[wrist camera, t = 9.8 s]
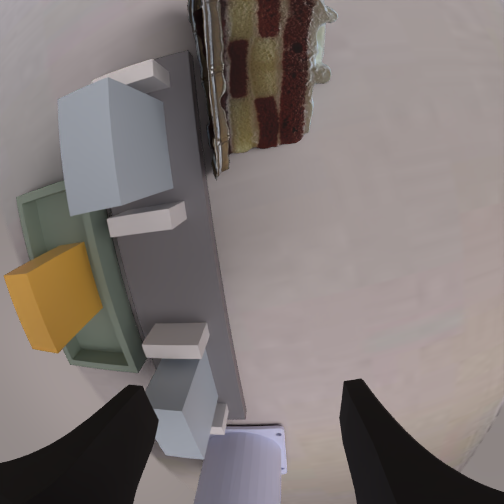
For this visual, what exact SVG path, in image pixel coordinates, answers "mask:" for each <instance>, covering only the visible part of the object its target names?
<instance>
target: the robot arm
mask: <svg viewBox="0 0 504 504" xmlns="http://www.w3.org/2000/svg"><path fill="white" fill-rule="evenodd" d="M339 418H340V426H341V433H342V441H343V445H344V449H345V453H346V457H347V461H348V465H349V469H350V473H351V477H352V481H353V485H354V489H355V494H356V500H357V504H504V492H502V491H499V490H496V489H493V488H490V487H488V486H485V485H483V484H481V483H478V482H476V481H474V480H472V479H470V478H468V477H466V476H465V475H463V474H461V473H460V472H458V471H456V470H455V469H453V468H451V467H450V466H448V465H446V464H445V463H443V462H442V461H441V460H439V459H438V458H437V457H435V456H434V455H433V454H431V453H430V452H429V451H428V450H426V449H425V448H424V447H423V446H422V445H420V444H419V443H418V442H417V441H416V440H415V439H414V438H413V437H412V436H411V435H410V434H409V433H408V432H406V431H405V430H404V429H403V427H402V426H401V425H400V424H399V423H398V422H397V421H396V420H395V419H394V418H393V417H392V416H391V414H390V413H389V412H388V411H387V410H386V409H385V408H384V406H383V405H382V404H381V403H380V401H379V400H378V399H377V398H376V397H375V395H374V394H373V393H372V391H371V390H370V389H369V387H368V386H367V385H366V383H365V382H364V380H362V379H355V380H349V381H344V384H343V393H342V402H341V410H340V417H339ZM158 423H159V419H158V417H157V415H156V413H155V411H154V409H153V407H152V405H151V403H150V401H149V399H148V397H147V395H146V393H145V391H144V388H143V386H137V385H128V386H127V387H125V388H124V389H123V390H122V391H120V392H119V393H118V394H117V395H116V396H115V397H113V398H112V399H111V400H110V401H109V402H108V403H106V404H105V405H104V406H103V407H102V408H101V409H99V410H98V411H97V412H96V413H95V414H93V415H92V416H91V417H90V418H89V419H87V420H86V421H85V422H83V423H82V424H81V425H79V426H78V427H77V428H75V429H74V430H73V431H71V432H70V433H68V434H67V435H65V436H64V437H62V438H61V439H59V440H57V441H55V442H54V443H52V444H50V445H48V446H46V447H44V448H42V449H40V450H38V451H36V452H33V453H31V454H29V455H26V456H23V457H21V458H17V459H14V460H11V461H7V462H2V463H0V504H133V501H134V497H135V493H136V490H137V486H138V483H139V481H140V478H141V475H142V473H143V470H144V468H145V465H146V463H147V460H148V457H149V455H150V452H151V449H152V447H153V444H154V441H155V437H156V432H157V428H158ZM286 473H287V461H286V448H285V434H284V427H283V426H279V425H277V426H226V429H225V435H214V434H210V436H209V440H208V445H207V449H206V454H205V458H204V460H203V465H202V469H201V473H200V478H199V482H198V487H197V491H196V496H195V500H194V504H281V474H286Z"/></svg>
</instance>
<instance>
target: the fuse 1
mask: <svg viewBox="0 0 504 504" xmlns="http://www.w3.org/2000/svg"><path fill="white" fill-rule="evenodd" d="M58 123H59V138H60V150H61V159H62V168H63V175H64V182H65V189H66V195H67V201H68V207H69V212H70V216H74V215H78V214H83V213H88V212H92V211H97V210H102V209H107V208H112V207H117V206H122V205H125V204H128V203H130V202H133V201H136V200H139V199H142V198H145V197H148V196H151V195H154V194H157V193H160V192H163V191H166V190H169V189H173V181H172V174H171V167H170V159H169V151H168V143H167V135H166V126H165V116H164V106H163V102H162V101H160V100H158V99H156V98H154V97H152V96H150V95H147V94H145V93H143V92H141V91H139V90H136V89H134V88H132V87H130V86H128V85H125V84H123V83H121V82H118V81H116V80H114V79H111V78H109V77H107V78H104V79H102V80H99V81H97V82H95V83H92V84H90V85H87V86H85V87H83V88H81V89H78V90H76V91H74V92H72V93H70V94H68V95H66V96H64V97H62V98H59V99H58Z"/></svg>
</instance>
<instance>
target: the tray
mask: <svg viewBox="0 0 504 504" xmlns="http://www.w3.org/2000/svg"><path fill="white" fill-rule="evenodd" d="M16 200H17V206H18V211H19V216H20V221H21V226H22V231H23V235H24V239H25V244H26V248H27V251H28V255H29V259H30V261H31V260H33V259H34V258H36V257H38V256H40V255H42V254H44V253H46V252H48V251H50V250H52V249H54V248H56V247H58V246H60V245H66V244H72V243H79V242H84V243H85V247H86V251H87V255H88V259H89V262H90V266H91V270H92V273H93V277H94V280H95V284H96V287H97V290H98V293H99V296H100V300H101V303H102V306H103V308H102V309H101V310H100V311H99V312H98V313H97V314H96V315H95V316H94V317H93V318H92V319H91V320H90V321H89V322H88V323H87V324H86V325H85V326H84V327H83V328H82V329H81V330H80V331H79V332H78V333H77V334H76V335H75V336H74V337H73V338H72V339H71V340H70V341H69V342H68V343H67V344H66V346H65V347H64V348H63V350H64V353H65V355H66V357H67V359H68V361H69V363H70V365H76V366H82V367H89V368H97V369H104V370H113V371H122V372H133V373H139V371H140V369H141V368H142V366H143V364H144V362H145V361H146V359H147V358H146V355H145V353H144V350H143V347H142V340H141V338H140V335H139V332H138V329H137V326H136V323H135V320H134V317H133V313H132V310H131V307H130V304H129V300H128V297H127V294H126V290H125V287H124V283H123V279H122V276H121V272H120V268H119V264H118V260H117V256H116V252H115V248H114V243H113V239H112V237H110V232H109V228H108V223H107V219H108V215H107V209H102V210H97V211H92V212H88V213H83V214H78V215H74V216H70V212H69V207H68V201H67V195H66V189H65V182H64V180H63V181H60V182H57V183H54V184H51V185H49V186H46V187H43V188H40V189H37V190H34V191H32V192H29V193H26V194H24V195H21V196H19V197H16Z"/></svg>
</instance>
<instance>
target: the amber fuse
mask: <svg viewBox="0 0 504 504" xmlns="http://www.w3.org/2000/svg"><path fill="white" fill-rule="evenodd" d="M4 278H5V281H6V284H7V288H8V291H9V293H10V296H11V299H12V302H13V304H14V307H15V309H16V312H17V314H18V317H19V320H20V322H21V324H22V327H23V329H24V331H25V333H26V336H27V338H28V340H29V342H30V344H31V346H32V348H33V349H36V350H41V351H46V352H53V353H59V352H60V351H61V350H62V349H63V348H64V347H65V346H66V344H67V343H68V342H69V341H70V340H71V339H72V338H73V337H74V336H75V335H76V334H77V333H78V332H79V331H80V330H81V329H82V328H83V327H84V326H85V325H86V324H87V323H88V322H89V321H90V320H91V319H92V318H93V317H94V316H95V315H96V314H97V313H98V312H99V311H100V310H101V309H102V308H103V306H102V303H101V300H100V296H99V293H98V290H97V287H96V284H95V280H94V277H93V273H92V270H91V266H90V262H89V259H88V255H87V251H86V247H85V243H84V242H79V243H72V244H66V245H60V246H58V247H56V248H54V249H52V250H50V251H48V252H46V253H44V254H42V255H40V256H38V257H36V258H34V259H33V260H31V261H29V262H27V263H25V264H23V265H22V266H20V267H18V268H16V269H15V270H13V271H11V272H9V273H7V274H6V275H4Z"/></svg>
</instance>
